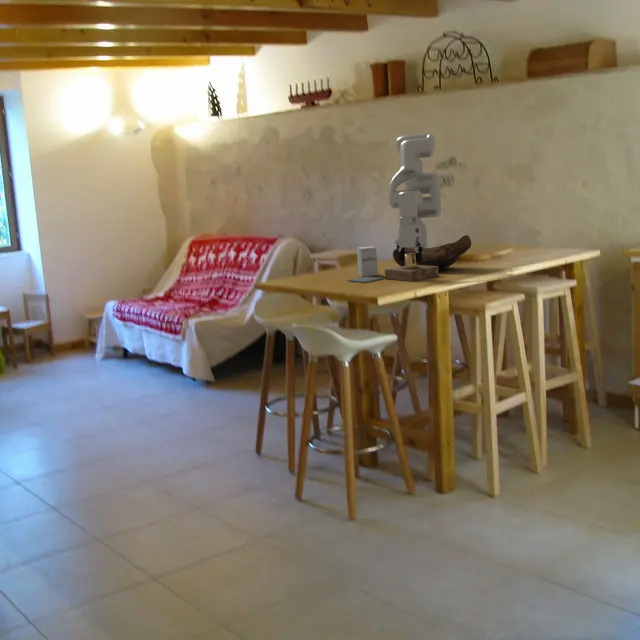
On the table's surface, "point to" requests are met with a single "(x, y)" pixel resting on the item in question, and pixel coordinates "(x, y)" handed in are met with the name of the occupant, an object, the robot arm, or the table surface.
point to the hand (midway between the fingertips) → (410, 261)
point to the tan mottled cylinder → (410, 261)
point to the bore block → (411, 273)
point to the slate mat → (365, 279)
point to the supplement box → (367, 261)
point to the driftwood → (439, 253)
